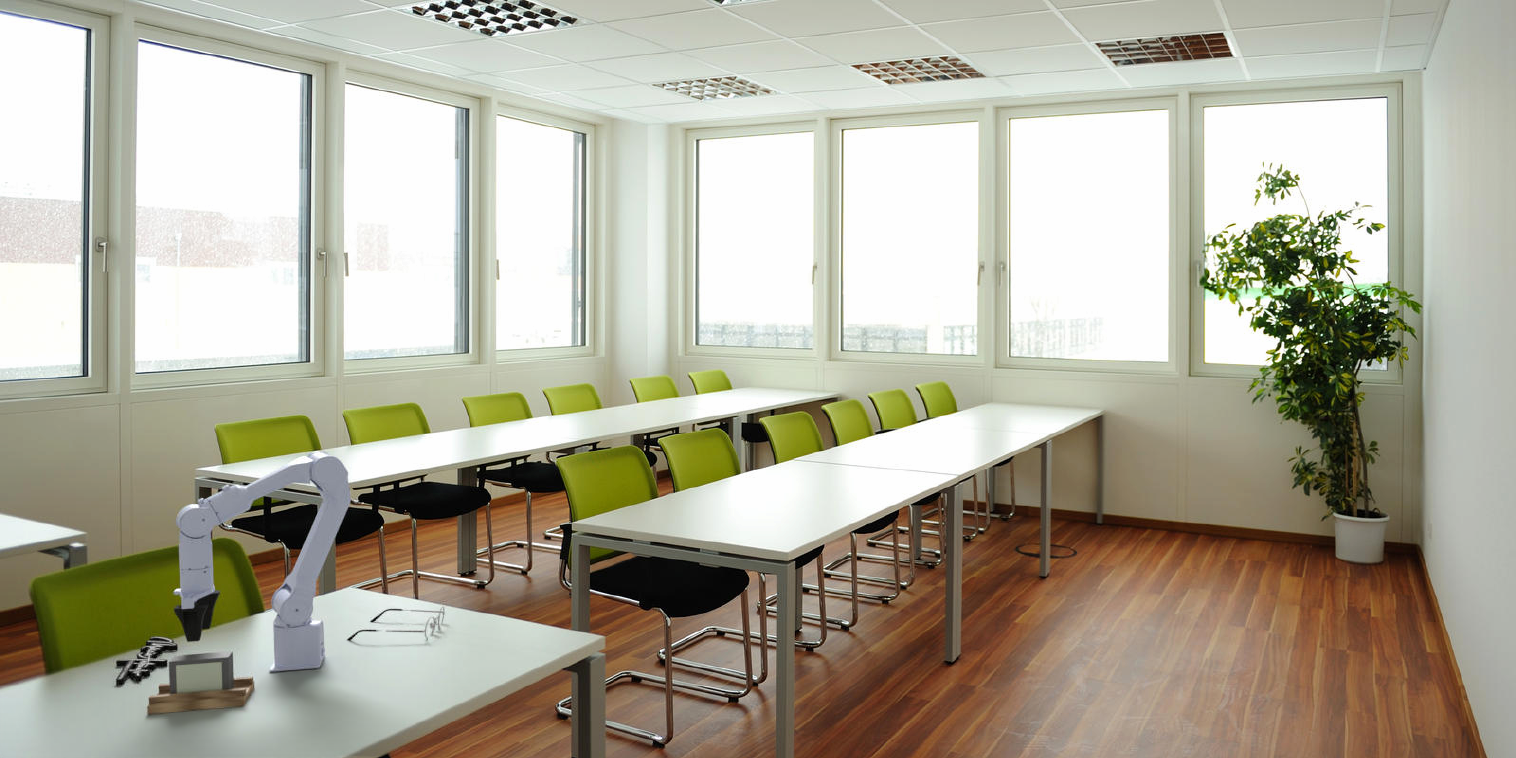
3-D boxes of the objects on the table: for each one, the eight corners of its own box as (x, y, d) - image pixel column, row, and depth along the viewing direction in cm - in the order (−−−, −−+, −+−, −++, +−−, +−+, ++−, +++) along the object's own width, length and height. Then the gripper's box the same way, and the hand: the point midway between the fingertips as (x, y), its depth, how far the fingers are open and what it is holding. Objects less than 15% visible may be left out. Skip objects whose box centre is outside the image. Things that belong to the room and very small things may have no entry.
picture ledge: (254, 688, 200) (254, 674, 200) (244, 705, 192) (243, 691, 191) (162, 696, 196) (161, 682, 196) (147, 714, 187) (146, 699, 187)
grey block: (234, 687, 197) (232, 651, 196) (229, 694, 193) (228, 657, 193) (175, 691, 194) (174, 655, 194) (169, 699, 191) (168, 661, 190)
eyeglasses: (428, 644, 228) (427, 622, 227) (344, 644, 228) (343, 622, 228) (451, 622, 244) (450, 601, 243) (372, 622, 244) (371, 601, 243)
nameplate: (131, 638, 226) (183, 633, 230) (131, 645, 226) (183, 640, 230) (102, 681, 201) (160, 675, 204) (102, 689, 201) (161, 682, 204)
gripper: (184, 559, 208) (186, 625, 209) (162, 577, 194) (165, 648, 195) (222, 556, 210) (224, 622, 211) (204, 574, 196) (206, 645, 197)
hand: (198, 634), depth 203 cm, fingers open, 7 cm apart
